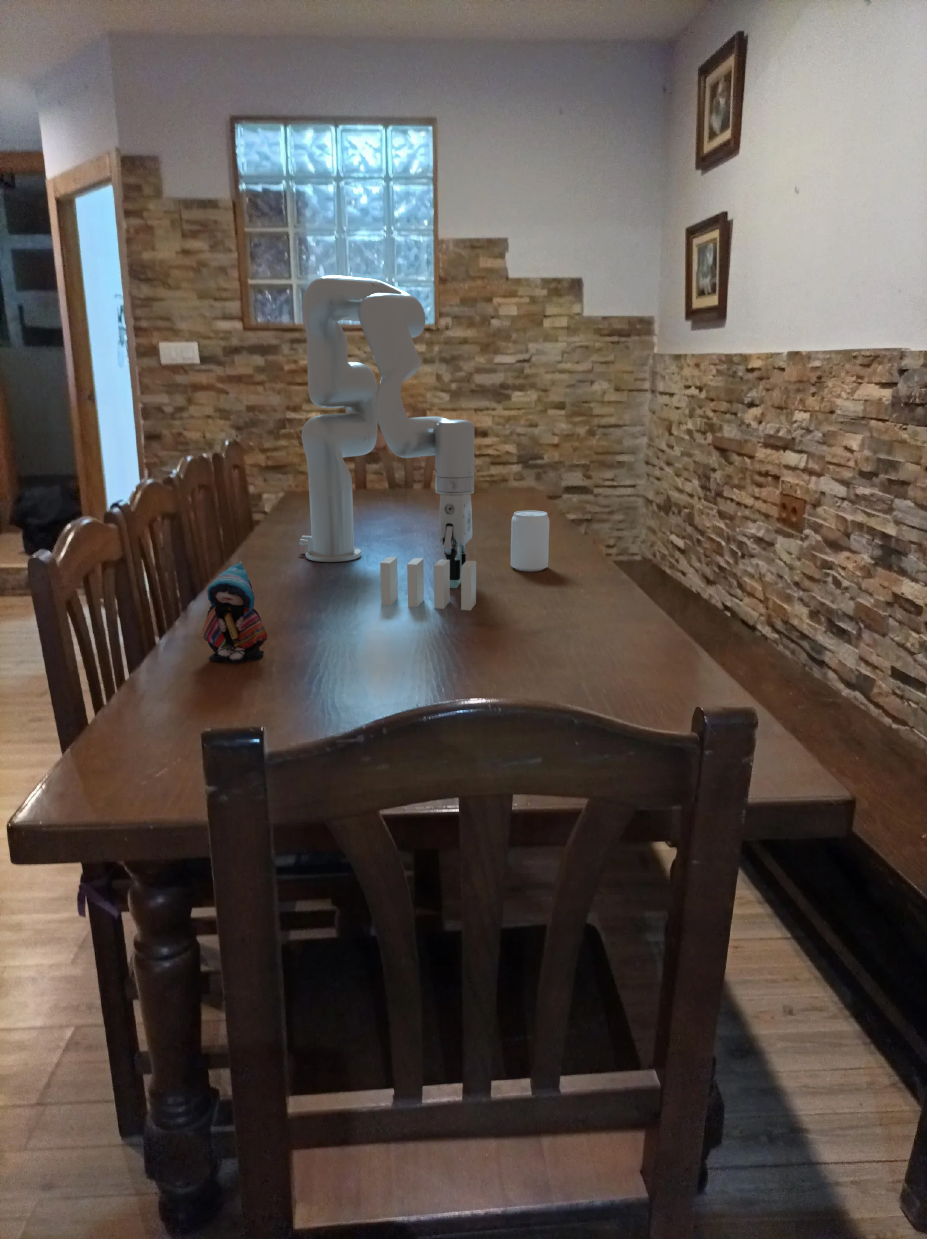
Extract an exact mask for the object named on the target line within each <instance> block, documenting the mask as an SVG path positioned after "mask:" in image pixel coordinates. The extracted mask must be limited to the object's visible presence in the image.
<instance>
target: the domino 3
mask: <svg viewBox="0 0 927 1239" xmlns="http://www.w3.org/2000/svg"><path fill="white" fill-rule="evenodd" d="M433 581H434V582H433V583H434V586H433V591H434V592H433V598H434V599H433V602H434V605H433V608H434V609H438V610H439V609H441V610H444V609H446V607H447V606H448V604H449V603H450V602H451V601H450V600H451V594H450V593H451V592H450V591H451V590H450V589H451V588H450V560H444V558H442V559H439V560H438V561H437V562H436V563H434V565H433Z"/></svg>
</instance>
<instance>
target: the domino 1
mask: <svg viewBox="0 0 927 1239" xmlns="http://www.w3.org/2000/svg"><path fill="white" fill-rule="evenodd" d="M379 566H380V567H379V569H380V576H379V577H380V606H387V607H388V606H389V607H391V606H392V605H393V604H394V603H396V601H397V600H398V598H399V596H398V595H399V590H398V584H399V583H398V581H399V580H398V557H397V556H387V557H386V558H384V559H383V560H382V561H380V564H379Z"/></svg>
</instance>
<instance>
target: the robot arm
mask: <svg viewBox="0 0 927 1239" xmlns="http://www.w3.org/2000/svg"><path fill="white" fill-rule="evenodd" d="M301 306H302V307H301V308H302V318H303V324H304V329H305V336H306V343H307V344H306V345H307V346H306V348H307V349H306V354H307V355H306V356H307V358H306V359H307V360H306V361H307V364H306V365H307V388H308V389H307V390H308V396H309V399H310V401H311V402H312V404H314V405H315V406H317V407H319V408H326V409H327V408H329V409H332V408H333V409H334V408H335V409H336V408H337V409H338V408H345V413H327V414H324V413H323V414H319V415H316V416H312V417H311V418H309V419H308V420H306V421H305V423H304V424H303V426H302V429H301V442H302V447H303V451H304V455H305V460H306V466H307V474H308V476H307V478H308V490H309V491H308V492H309V510H310V512H309V514H310V532H311V535H301V537H300V539H299V542H298V544H299V545H300V546H307V550H305V558H306V559H307V560H310V561H314V562H319V563H320V562H322V563H338V562H347V561H348V562H349V561H353V560H357V559H359V558H361V556H362V549H360V548H358V547H355V537H354V536H355V534H354V532H355V531H354V529H355V528H354V527H355V526H354V506H353V505H354V503H353V502H354V501H353V479H352V474H351V472H350V469H349V468H348V466H347V464H346V462H345V460H344V458H348V457H350V458H351V457H359V456H364V455H367V454H369V453H370V452H372V451H373V450H374V448H375V446H376V444H377V438H378V426H379V429H380V431H381V434H382V437H383V439H384V441H385V443H386V444H387V447H388V448H389V450H390V451H391V452H392V453H393V454H394V455H395V456H397V457H399V458H403V459H408V458H409V459H410V458H411V459H412V458H419V457H430V456H435V457H434V459H435V460H434V461H435V462H434V465H435V467H434V468H435V472H434V473H435V474H434V475H435V476H434V478H435V479H434V480H435V494H438V495H440V497H439V499H440V500H439V542H440V544H441V545H442V546H443V559H444V560H450V580H459V579H460V560H458V559H459V544H461V546H462V565H463V564H464V563H465V562H466V561H467V559H466V558H467V555H466V554H467V553H466V544H467V543H468V542H470V541H471V539H472V538H473V517H472V516H473V511H472V496H471V495H472V494H474V493H475V426H474V423H473V422H472V421H470V420H468V419H467V420H466V419H448V418H445V417H442V416H418V417H416V416H415V417H409V416H408V414H407V412H406V409H405V407H404V405H403V404H404V403H403V401H402V385H403V383H404V382H405V381H407V380H409V379H410V378H412V377H413V376H414V375H415V374H417V372H418V371H420V368H421V363H422V362H421V358H420V356H419V354H418V351H417V349H416V346H415V343H414V340H413V339H414V338H417V337H418V336H420V335H421V334H422V332H423V331H424V330H425V326H426V323H427V322H426V313H425V309H424V307H423V304H422V303H421V302H420V301H419V300H418V299H417V297H415V296H413V295H412V294H410V293H408V292H406V291H404V290H402V289H399V288H397V287H395V286H392V285H390V284H388V283H387V282H384V281H381V280H378V279H375V278H366V277H365V278H364V277H357V276H355V277H354V276H348V275H347V276H345V275H323V276H320V277H317V278H315V279H314V280H312V281H311V282H310V283H309V285H308V286H307V288H306V289H305V292H304V294H303V298H302V305H301ZM339 321H353V322H359V324H360V326H361V329H362V332H363V334H364V338H365V339H366V342H367V346H369V350H370V353H371V355H372V359H373V360H374V364H375V366H376V367H377V371H378V374H379V378H380V379H379V383H377V379H376V376H375V374H374V372H373V371H372V369H371V368H370V367H369V366H368V365H366V364H364V363H363V362H362V363H361V362H357V361H354V362H353V361H349V357H348V346H349V345H348V340H347V337H346V334H345V332H344V328H342V326H341V324H340V323H339ZM452 543H456V544H452ZM452 548H455V550H454V549H452Z"/></svg>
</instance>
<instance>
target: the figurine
mask: <svg viewBox="0 0 927 1239" xmlns="http://www.w3.org/2000/svg"><path fill="white" fill-rule="evenodd" d="M206 593H207V594H206V595H207V600H208V601H209V603H210V607H209V610H207V615H206V620H205V621H204V624H203V628H202V632H201V634H200V635H201V637H202V638H203V639H204V641H206V642H207V643H208V645H209V647H210V649H211V650H212V652H214V653H212V654H211V655H210V656H209V657H208V660H209V661H210V662H213V663H215V662H216V663H217V662H218V663H219V662H222V663H247V662H250V661H256V660H259V659H262V658H263V657H264V653H265V651H264V650H260V647H261V646H263V644H264V643H265V642H266V641H267V640H268V633H267V631H266V628H265V626H264V624H263V622H262V619H261V617H260V615H259V613H258V611H257V610H256V609H255V608H254V607H255V593H254V591H253V587H252V583H251V581H250V579H249V577H248V574H247V571H246V570H245V568H244V565H243V562H242V561H240V560H238V562H237V563H235V564H232V565H230V567H229V568H227V569H226V570H224V571H223V572H222V573H220V574H219V575H218V576H216V578H215V579H213V581H212V583H211V584H209V585H208V587H207V589H206Z"/></svg>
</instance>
